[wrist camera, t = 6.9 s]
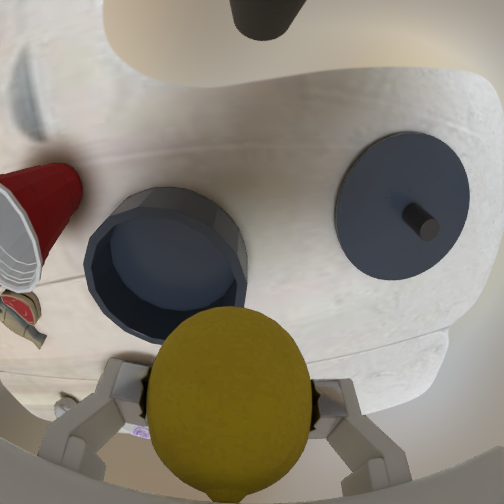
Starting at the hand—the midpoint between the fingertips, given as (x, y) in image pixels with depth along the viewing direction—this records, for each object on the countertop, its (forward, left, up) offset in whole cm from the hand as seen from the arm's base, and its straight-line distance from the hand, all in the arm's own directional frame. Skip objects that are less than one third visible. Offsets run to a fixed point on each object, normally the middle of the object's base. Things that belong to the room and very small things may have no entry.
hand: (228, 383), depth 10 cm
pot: (+8, -6, -21) cm, 23 cm away
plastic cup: (+1, -19, -21) cm, 28 cm away
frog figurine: (+47, -31, -21) cm, 60 cm away
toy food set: (+16, -39, -21) cm, 47 cm away
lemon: (0, 0, -4) cm, 4 cm away
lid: (-1, +18, -20) cm, 27 cm away
